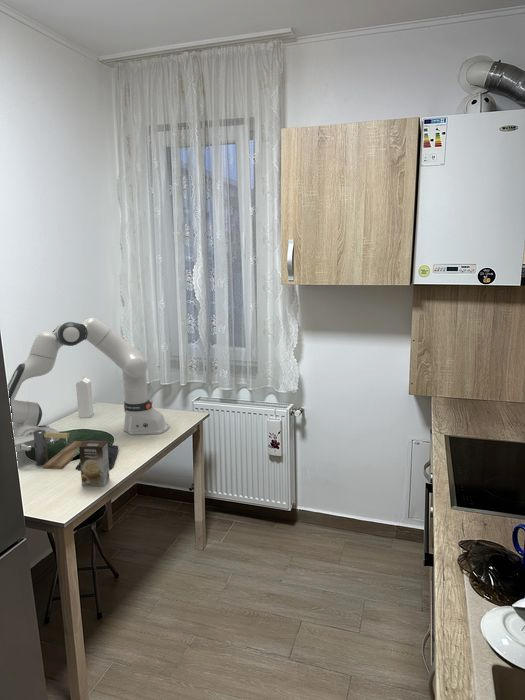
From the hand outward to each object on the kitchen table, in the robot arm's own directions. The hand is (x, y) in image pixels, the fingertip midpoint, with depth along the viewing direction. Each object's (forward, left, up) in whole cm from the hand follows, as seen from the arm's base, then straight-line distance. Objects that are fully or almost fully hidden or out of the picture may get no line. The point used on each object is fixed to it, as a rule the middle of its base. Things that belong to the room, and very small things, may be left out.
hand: (41, 445), depth 205 cm
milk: (+9, -60, -8) cm, 61 cm away
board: (-6, -10, -8) cm, 14 cm away
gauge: (-4, -1, -8) cm, 9 cm away
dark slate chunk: (-22, -7, -9) cm, 25 cm away
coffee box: (-29, +13, -8) cm, 33 cm away
